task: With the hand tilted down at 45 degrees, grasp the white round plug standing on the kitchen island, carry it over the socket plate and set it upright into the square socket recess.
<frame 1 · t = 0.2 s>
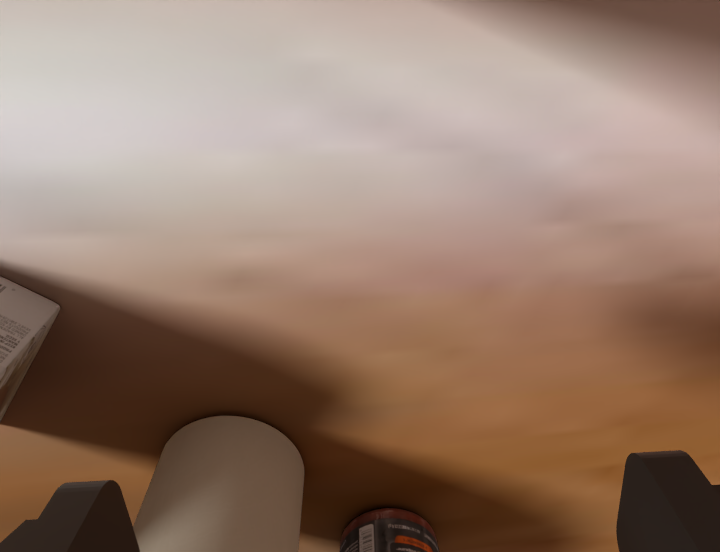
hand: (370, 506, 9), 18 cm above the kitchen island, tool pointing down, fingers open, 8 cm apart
supplement bottle: (387, 534, 36), on the kitchen island
travel mug: (234, 464, 33), on the kitchen island
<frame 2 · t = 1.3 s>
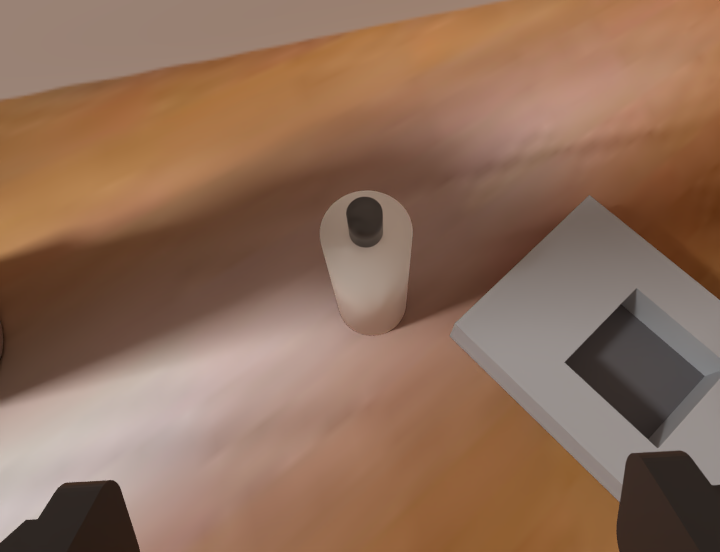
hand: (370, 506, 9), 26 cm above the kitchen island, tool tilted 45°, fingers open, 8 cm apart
socket: (626, 374, 36), on the kitchen island
plug: (372, 302, 38), on the kitchen island
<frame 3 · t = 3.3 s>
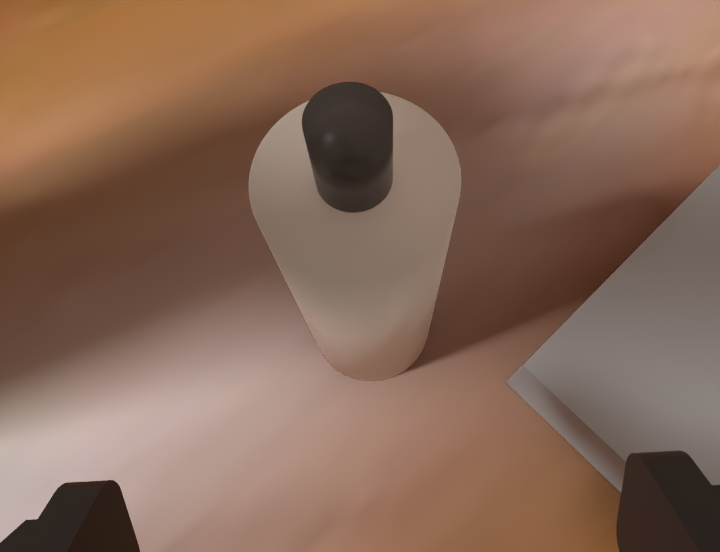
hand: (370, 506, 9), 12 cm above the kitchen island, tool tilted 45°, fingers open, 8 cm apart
plug: (371, 323, 22), on the kitchen island
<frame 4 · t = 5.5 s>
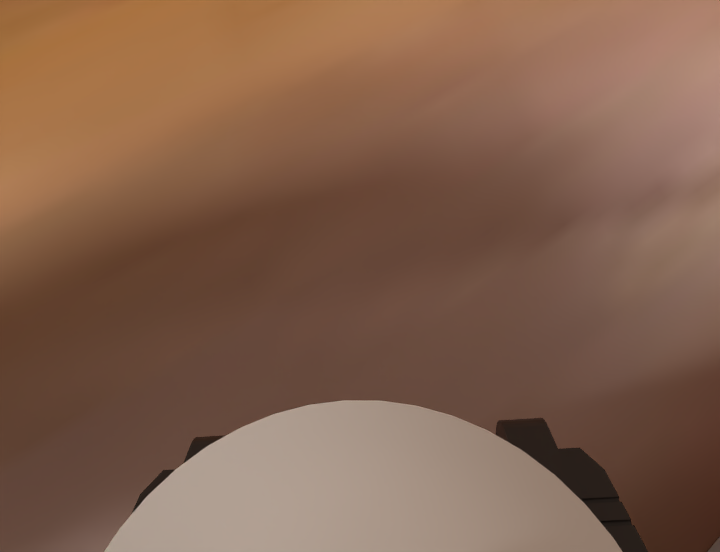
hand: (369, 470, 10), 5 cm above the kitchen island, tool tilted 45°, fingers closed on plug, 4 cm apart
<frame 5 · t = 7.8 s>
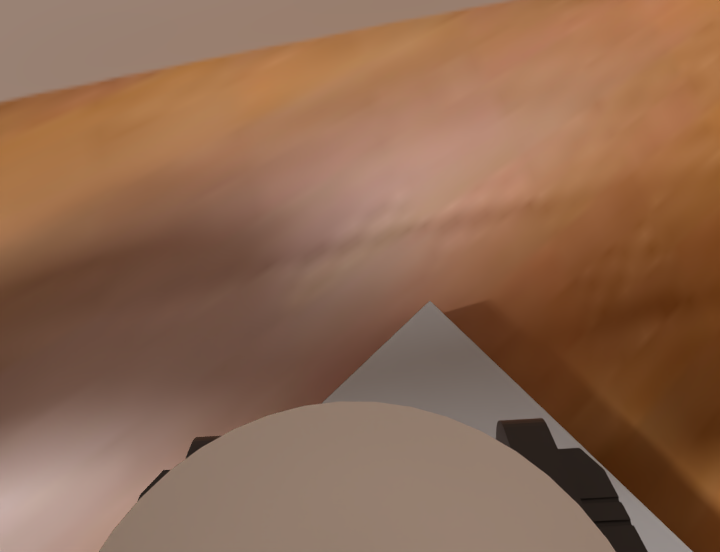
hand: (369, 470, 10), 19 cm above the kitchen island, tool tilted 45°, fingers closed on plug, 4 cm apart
socket: (474, 544, 27), on the kitchen island
when the fingers open (8 cm above the kitchen island, at t = 10.5 s): plug drops 3 cm, resting on socket.
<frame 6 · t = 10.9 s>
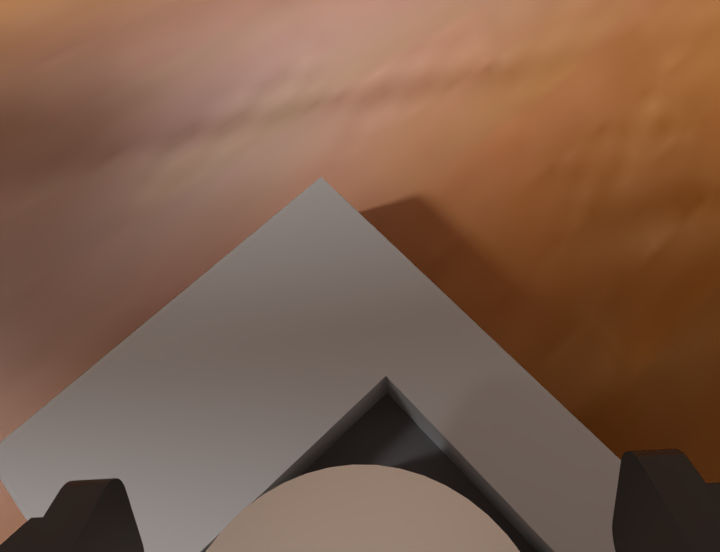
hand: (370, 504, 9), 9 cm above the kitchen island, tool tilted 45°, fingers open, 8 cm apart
socket: (383, 551, 17), on the kitchen island
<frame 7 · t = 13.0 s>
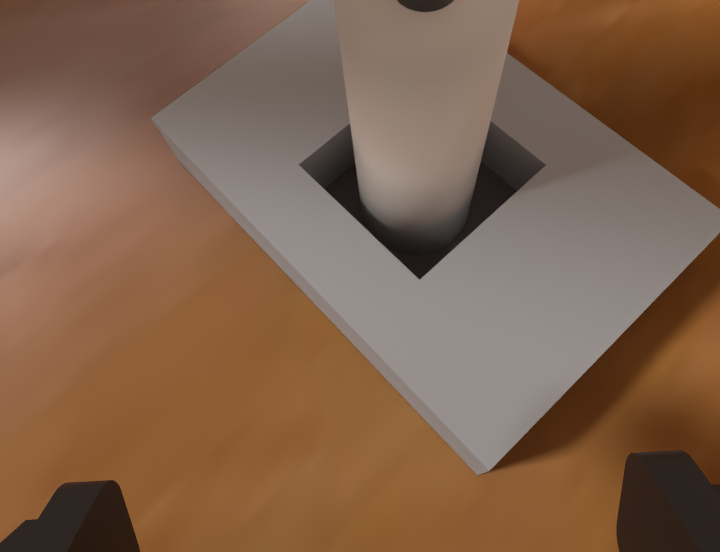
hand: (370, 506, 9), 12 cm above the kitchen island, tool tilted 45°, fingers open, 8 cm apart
socket: (418, 203, 24), on the kitchen island
plug: (414, 204, 24), resting on socket
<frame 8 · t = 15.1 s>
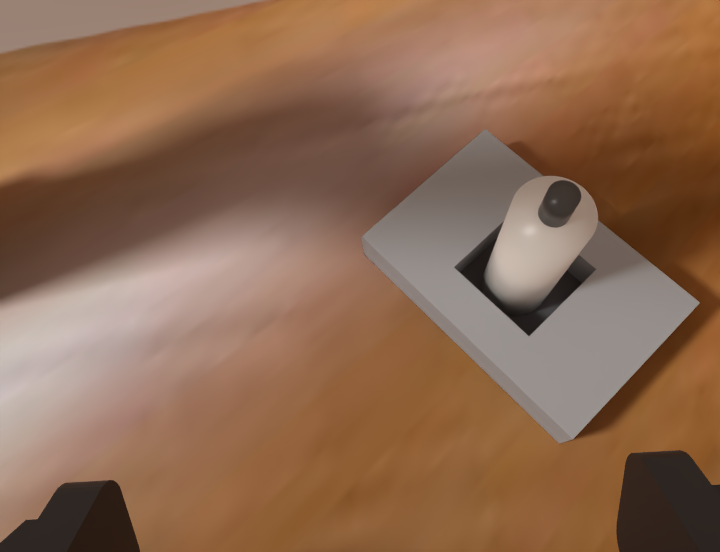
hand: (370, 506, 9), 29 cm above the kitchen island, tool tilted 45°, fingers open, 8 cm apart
socket: (515, 283, 41), on the kitchen island
plug: (514, 284, 40), resting on socket
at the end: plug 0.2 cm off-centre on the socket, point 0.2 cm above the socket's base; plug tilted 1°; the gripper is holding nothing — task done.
